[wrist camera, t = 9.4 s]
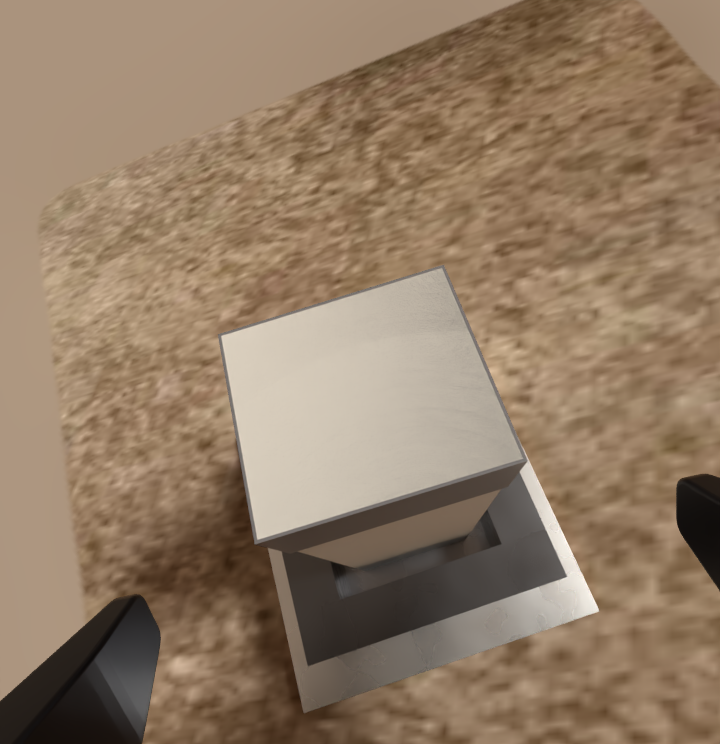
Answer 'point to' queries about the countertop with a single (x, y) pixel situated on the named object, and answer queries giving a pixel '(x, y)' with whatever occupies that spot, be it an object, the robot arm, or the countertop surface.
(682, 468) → the countertop surface
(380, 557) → the plug block
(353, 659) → the socket plate
